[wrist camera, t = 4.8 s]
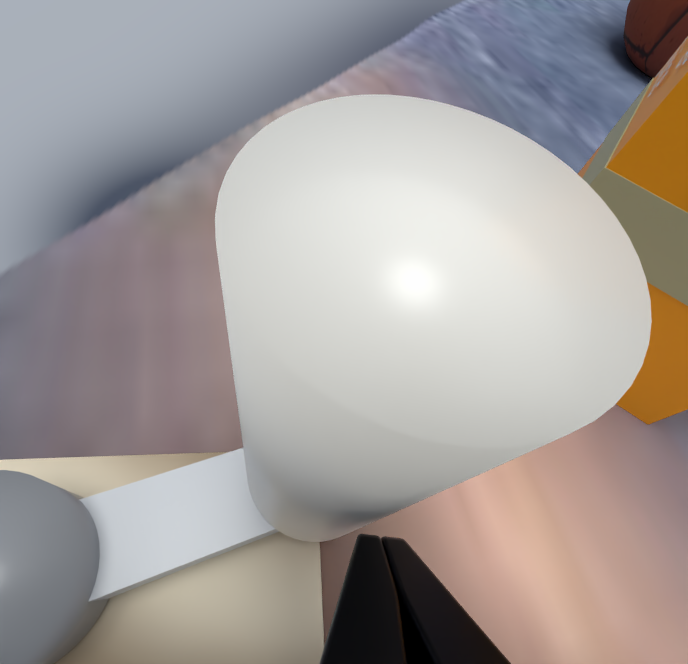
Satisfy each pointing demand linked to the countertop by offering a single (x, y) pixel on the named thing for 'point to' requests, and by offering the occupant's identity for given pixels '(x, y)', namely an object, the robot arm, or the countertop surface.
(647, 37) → the potted plant
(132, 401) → the countertop surface
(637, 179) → the orange juice
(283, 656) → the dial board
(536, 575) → the countertop surface
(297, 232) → the crank handle
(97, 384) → the countertop surface
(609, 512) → the countertop surface
